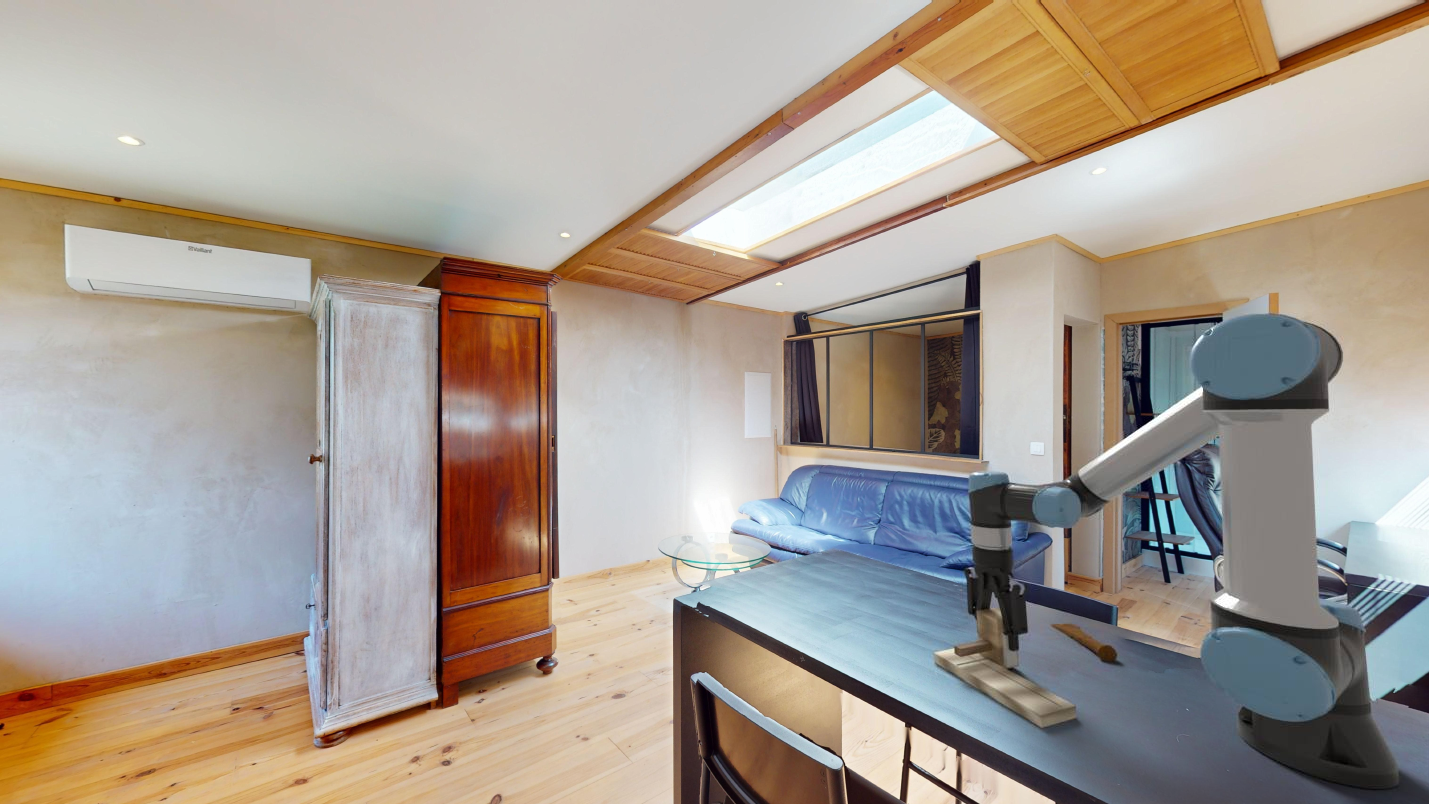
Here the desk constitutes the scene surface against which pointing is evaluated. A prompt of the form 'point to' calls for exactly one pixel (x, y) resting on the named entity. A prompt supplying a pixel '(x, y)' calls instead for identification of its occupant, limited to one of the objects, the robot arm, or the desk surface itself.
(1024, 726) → the desk surface
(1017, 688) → the board
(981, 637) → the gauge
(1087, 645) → the primitive tool
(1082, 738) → the desk surface
